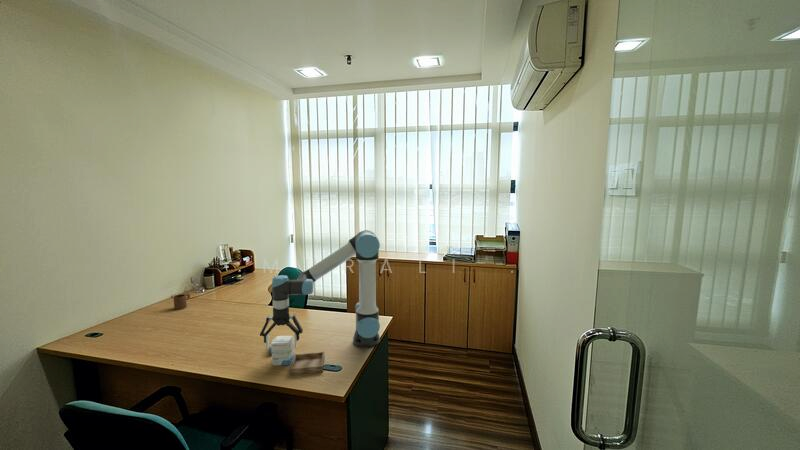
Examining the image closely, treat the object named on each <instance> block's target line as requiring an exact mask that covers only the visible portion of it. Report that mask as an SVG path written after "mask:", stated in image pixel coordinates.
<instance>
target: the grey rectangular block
mask: <svg viewBox="0 0 800 450" xmlns="http://www.w3.org/2000/svg"><path fill="white" fill-rule="evenodd" d="M274 339H275V338H272V340H271V342H270V343H269V349H268V355H272V352H271V343H272V342H273V340H274Z"/></svg>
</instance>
